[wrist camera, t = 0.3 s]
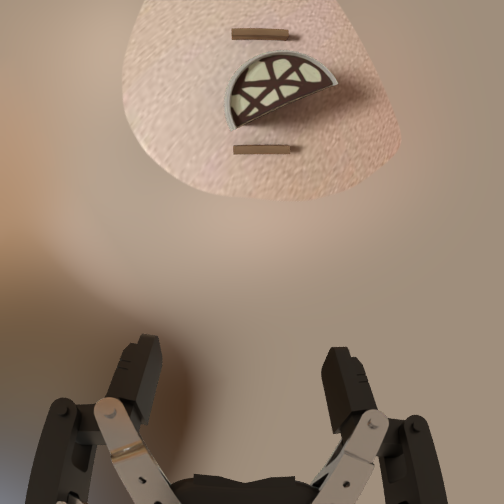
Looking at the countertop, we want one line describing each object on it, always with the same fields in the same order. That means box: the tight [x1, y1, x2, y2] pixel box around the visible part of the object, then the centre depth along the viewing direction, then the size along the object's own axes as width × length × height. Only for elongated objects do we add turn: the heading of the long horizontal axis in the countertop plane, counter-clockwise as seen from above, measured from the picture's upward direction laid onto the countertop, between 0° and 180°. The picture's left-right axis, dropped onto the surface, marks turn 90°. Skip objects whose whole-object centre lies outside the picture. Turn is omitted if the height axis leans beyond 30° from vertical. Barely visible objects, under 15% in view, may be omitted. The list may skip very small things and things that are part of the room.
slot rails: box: [232, 28, 290, 154], centre depth 30 cm, size 17×7×2 cm, turn 1°
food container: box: [224, 50, 339, 131], centre depth 26 cm, size 12×6×10 cm, turn 118°
